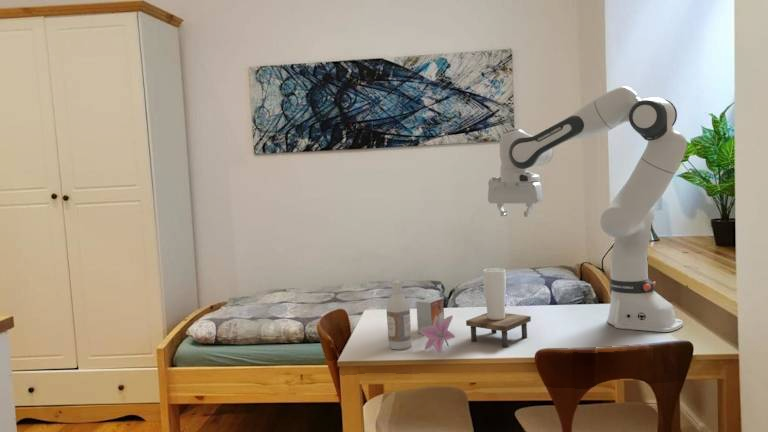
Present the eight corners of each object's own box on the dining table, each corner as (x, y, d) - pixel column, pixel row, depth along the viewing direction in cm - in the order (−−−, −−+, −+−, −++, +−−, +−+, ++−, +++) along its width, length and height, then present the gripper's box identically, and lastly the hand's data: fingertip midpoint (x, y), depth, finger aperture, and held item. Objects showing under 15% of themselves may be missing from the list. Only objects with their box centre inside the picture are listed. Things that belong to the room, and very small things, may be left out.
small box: (432, 335, 214) (430, 302, 213) (417, 333, 217) (415, 301, 216) (445, 329, 220) (443, 297, 219) (431, 327, 223) (429, 296, 222)
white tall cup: (507, 321, 200) (504, 271, 199) (484, 321, 201) (482, 272, 200) (508, 315, 206) (505, 267, 205) (485, 315, 208) (483, 268, 207)
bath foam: (384, 347, 203) (380, 282, 202) (402, 342, 207) (399, 278, 206) (397, 351, 198) (393, 285, 196) (416, 346, 202) (412, 281, 200)
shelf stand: (531, 337, 205) (530, 316, 204) (506, 348, 194) (505, 326, 194) (492, 331, 214) (491, 311, 214) (467, 341, 204) (466, 320, 203)
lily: (420, 347, 205) (410, 324, 200) (453, 328, 206) (443, 305, 202) (436, 369, 194) (426, 345, 190) (470, 349, 196) (461, 325, 192)
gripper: (483, 178, 238) (485, 216, 239) (534, 176, 224) (536, 217, 225) (493, 177, 242) (494, 215, 244) (544, 175, 228) (545, 215, 230)
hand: (515, 216), depth 234 cm, fingers open, 8 cm apart
